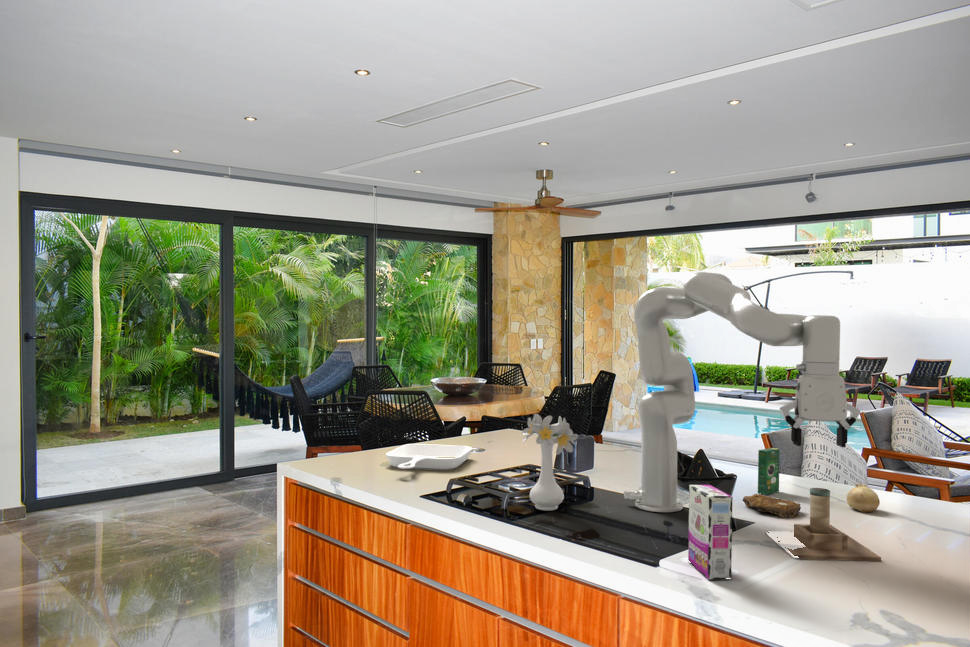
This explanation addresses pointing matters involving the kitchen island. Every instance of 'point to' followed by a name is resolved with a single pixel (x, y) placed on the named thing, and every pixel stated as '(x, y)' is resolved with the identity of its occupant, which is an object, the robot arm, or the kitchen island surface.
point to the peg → (819, 511)
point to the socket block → (830, 546)
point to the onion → (863, 498)
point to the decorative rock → (773, 505)
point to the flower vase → (548, 458)
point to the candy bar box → (710, 531)
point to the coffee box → (768, 471)
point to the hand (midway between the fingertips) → (818, 445)
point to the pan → (428, 456)
